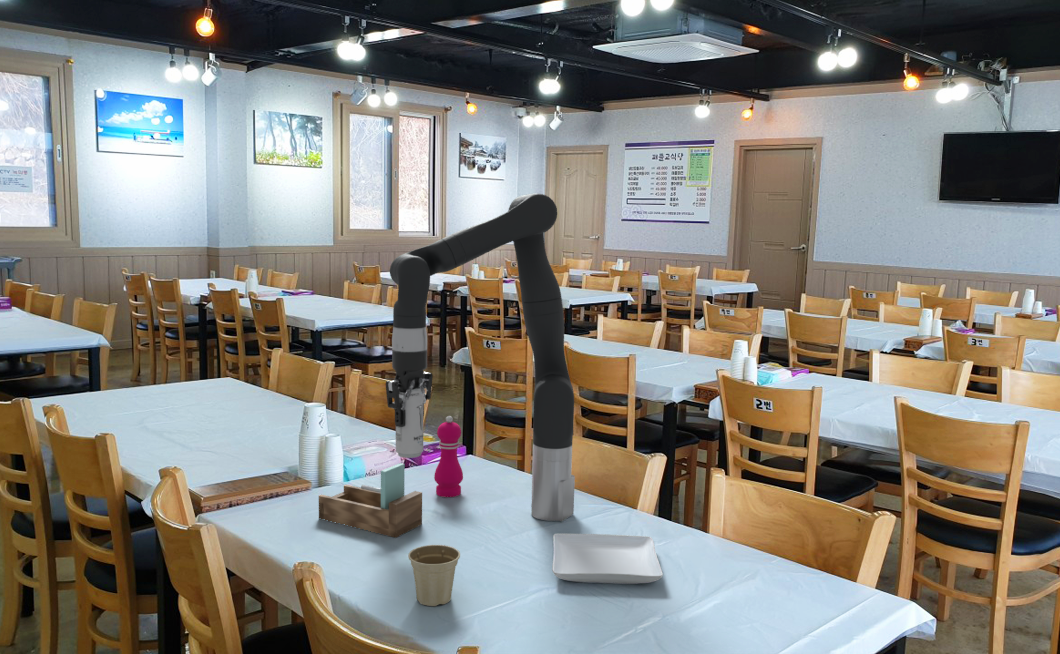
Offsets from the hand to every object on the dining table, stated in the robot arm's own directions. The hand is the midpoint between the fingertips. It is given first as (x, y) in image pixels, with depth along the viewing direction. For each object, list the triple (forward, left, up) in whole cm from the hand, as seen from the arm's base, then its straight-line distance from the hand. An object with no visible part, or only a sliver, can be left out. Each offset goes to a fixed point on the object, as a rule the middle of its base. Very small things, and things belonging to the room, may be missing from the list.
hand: (409, 423), depth 187 cm
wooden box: (+11, 0, -24) cm, 27 cm away
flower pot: (-24, +25, -25) cm, 43 cm away
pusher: (+8, 0, -23) cm, 24 cm away
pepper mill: (+7, -26, -25) cm, 36 cm away
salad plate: (-45, -5, -25) cm, 52 cm away
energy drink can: (0, 0, -7) cm, 7 cm away
